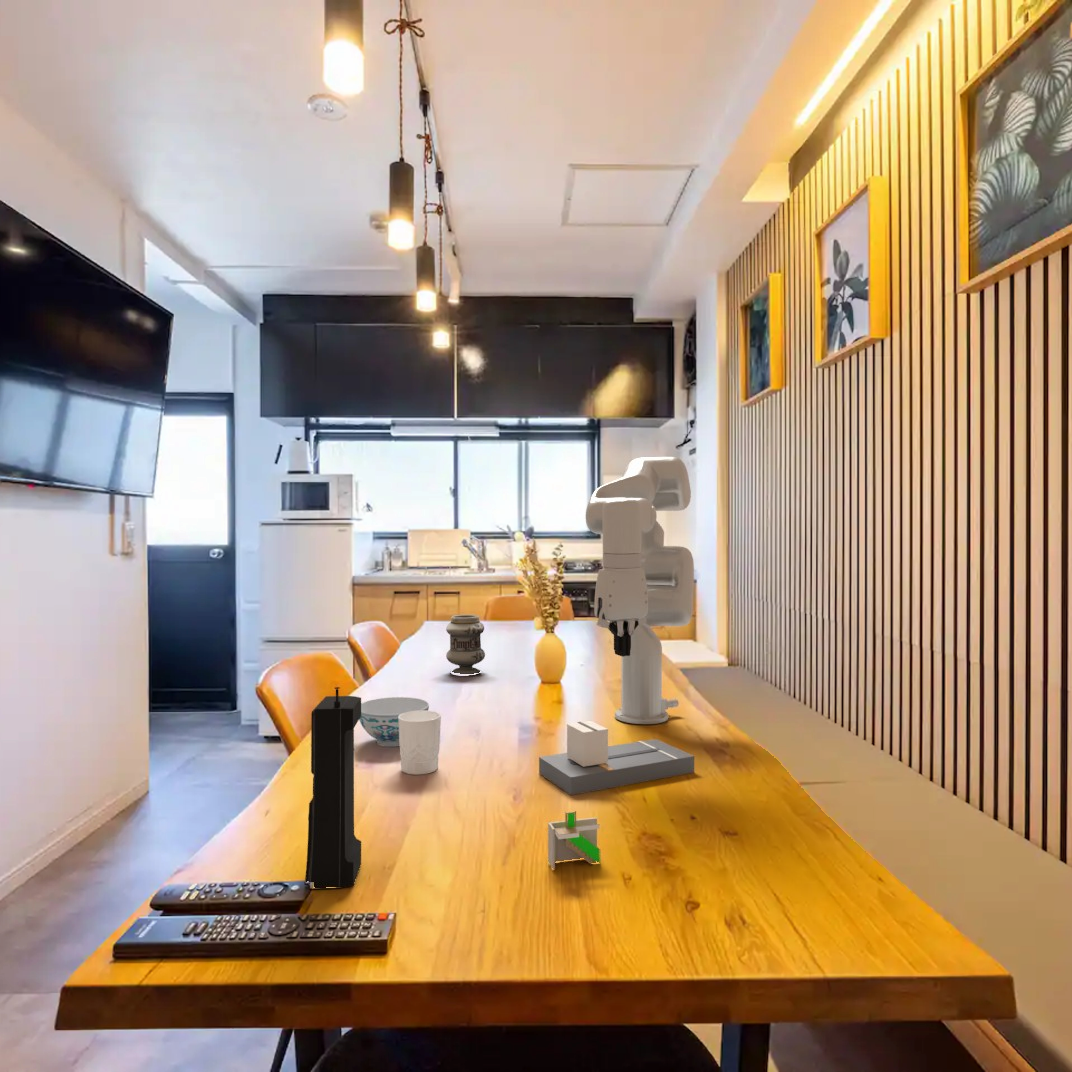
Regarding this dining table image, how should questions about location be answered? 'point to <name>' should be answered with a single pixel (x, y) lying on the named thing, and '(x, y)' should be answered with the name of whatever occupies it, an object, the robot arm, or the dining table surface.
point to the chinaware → (387, 717)
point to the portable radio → (333, 794)
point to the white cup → (419, 741)
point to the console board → (617, 767)
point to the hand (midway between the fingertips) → (622, 654)
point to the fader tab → (587, 743)
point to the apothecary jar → (465, 643)
